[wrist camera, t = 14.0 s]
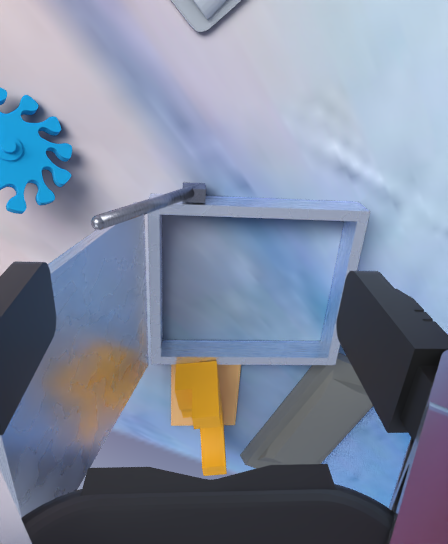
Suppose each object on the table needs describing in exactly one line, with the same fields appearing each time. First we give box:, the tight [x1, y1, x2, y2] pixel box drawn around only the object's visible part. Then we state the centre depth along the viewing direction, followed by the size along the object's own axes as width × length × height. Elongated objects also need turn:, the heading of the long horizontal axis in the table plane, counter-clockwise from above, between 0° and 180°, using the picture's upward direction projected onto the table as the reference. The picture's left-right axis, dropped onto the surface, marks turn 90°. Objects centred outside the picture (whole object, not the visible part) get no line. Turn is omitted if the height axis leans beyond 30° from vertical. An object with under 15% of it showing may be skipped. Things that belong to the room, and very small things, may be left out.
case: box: [148, 183, 370, 365], centre depth 41 cm, size 20×19×3 cm
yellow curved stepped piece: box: [175, 361, 227, 476], centre depth 45 cm, size 12×4×6 cm, turn 5°
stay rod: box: [91, 185, 198, 230], centre depth 32 cm, size 8×1×10 cm, turn 87°
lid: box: [0, 202, 148, 518], centre depth 31 cm, size 20×18×1 cm
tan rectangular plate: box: [171, 364, 241, 426], centre depth 49 cm, size 8×10×1 cm
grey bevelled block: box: [240, 352, 373, 468], centre depth 52 cm, size 10×20×4 cm, turn 150°
